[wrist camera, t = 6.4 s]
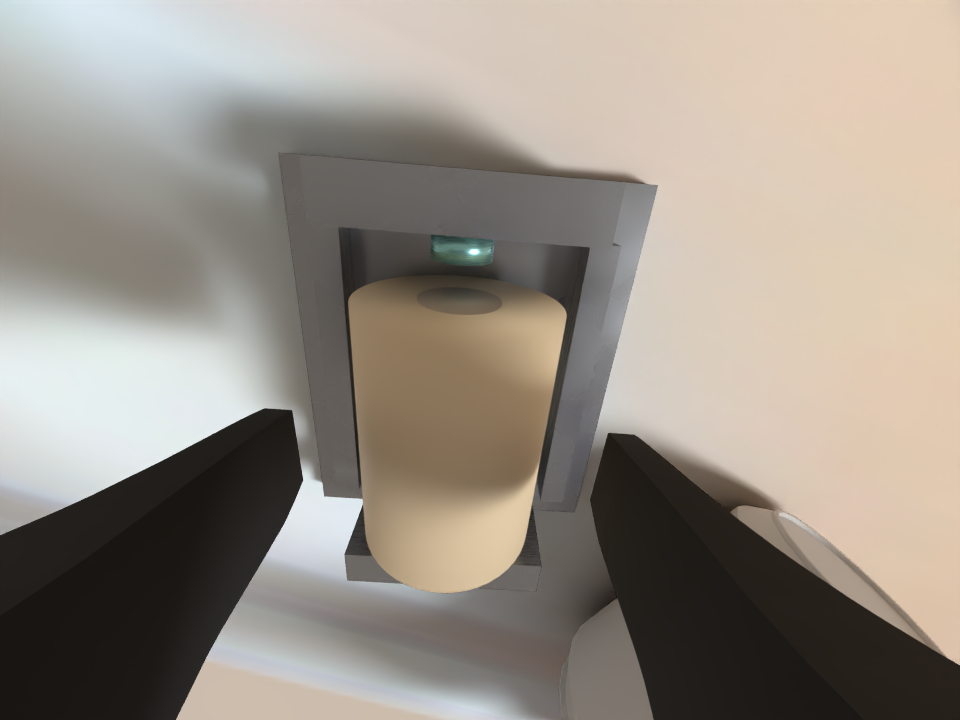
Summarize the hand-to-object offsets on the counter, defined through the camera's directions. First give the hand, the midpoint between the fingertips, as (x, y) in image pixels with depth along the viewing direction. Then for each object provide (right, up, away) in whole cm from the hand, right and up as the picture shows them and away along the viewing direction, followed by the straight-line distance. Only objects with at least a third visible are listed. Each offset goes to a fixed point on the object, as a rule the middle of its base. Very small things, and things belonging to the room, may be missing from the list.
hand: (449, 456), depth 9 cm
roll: (-1, +2, +4) cm, 4 cm away
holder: (0, +2, +4) cm, 5 cm away
